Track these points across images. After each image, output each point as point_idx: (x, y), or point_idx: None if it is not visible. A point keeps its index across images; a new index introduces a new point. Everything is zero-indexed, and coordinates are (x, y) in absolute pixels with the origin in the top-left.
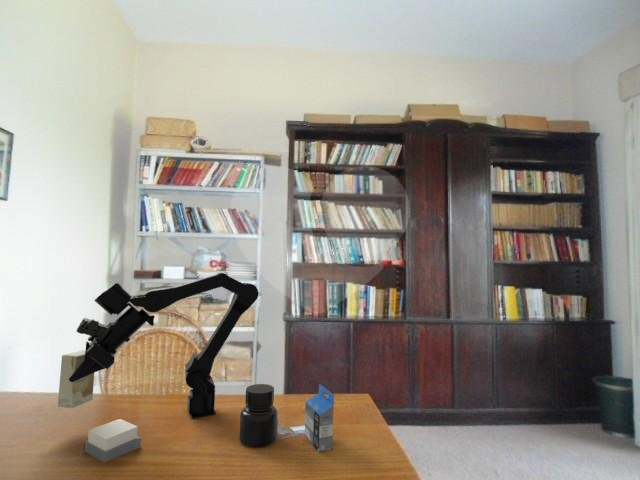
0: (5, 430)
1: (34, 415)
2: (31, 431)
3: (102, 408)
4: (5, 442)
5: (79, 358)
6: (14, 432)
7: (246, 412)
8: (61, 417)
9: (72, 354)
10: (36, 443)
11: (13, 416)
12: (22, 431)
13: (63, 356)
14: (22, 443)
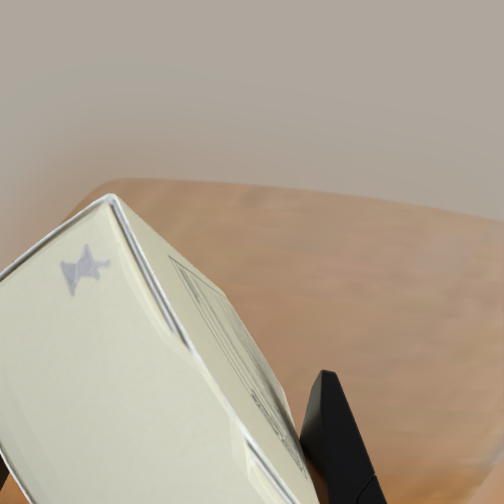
0: (386, 200)
1: (458, 281)
2: (331, 253)
3: (376, 468)
4: (292, 188)
5: None
6: (355, 215)
7: None
8: (392, 348)
9: (35, 326)
10: (221, 250)
11: (477, 233)
12: (349, 233)
13: (87, 213)
14: (250, 220)
